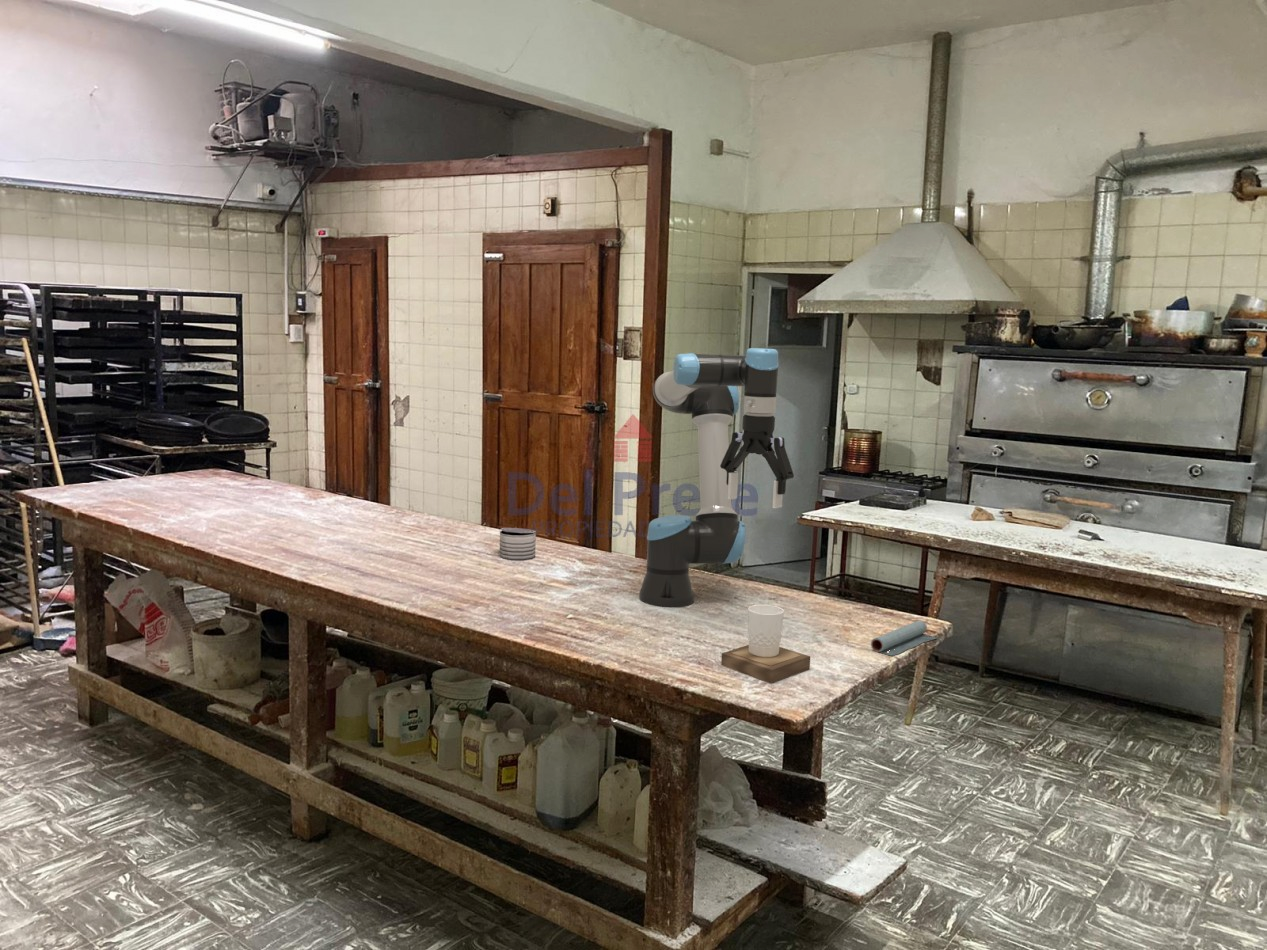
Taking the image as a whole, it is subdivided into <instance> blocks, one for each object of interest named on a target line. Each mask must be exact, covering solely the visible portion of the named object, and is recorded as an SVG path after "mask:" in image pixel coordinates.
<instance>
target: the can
mask: <svg viewBox="0 0 1267 950" xmlns="http://www.w3.org/2000/svg"><path fill="white" fill-rule="evenodd" d="M498 530H500V531H499V557H500V558H502V560H507V561H517V562H518V561H519V562H524V561H529V560H533V559H535V558H536V548H537V547H536V546H537V544H536V542H537V541H536V538H537V536H536V533H537V530H534V529H530V528H520V527H519V528H518V527H503V528H500V529H498Z"/></svg>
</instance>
